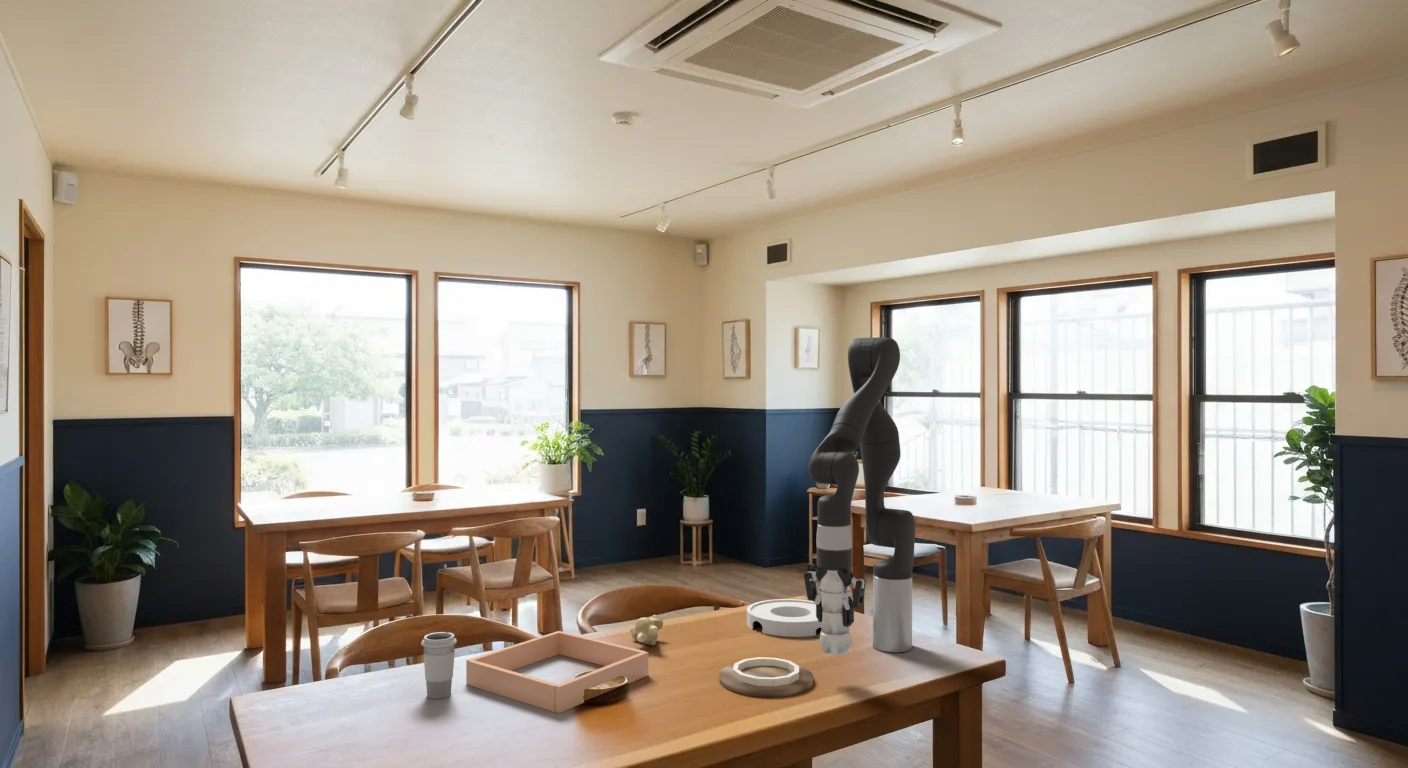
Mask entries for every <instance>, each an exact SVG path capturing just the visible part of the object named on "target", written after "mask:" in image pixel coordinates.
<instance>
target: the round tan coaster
mask: <svg viewBox="0 0 1408 768" xmlns="http://www.w3.org/2000/svg"><path fill="white" fill-rule="evenodd" d="M735 663H736V662H735ZM735 663H731V664H728V665H726V666H725V667H723V668H722V669H720V671H719V678H718V679H719V683H720V685H721V686H722V687H724V688H725V689H727V690H729V691H731V692H734V693H735V694H740V695H745V696H750V697H757V696H758V698H779V697H780V698H781V697H782V698H783V697H789V696H795V695H799V694H802V693H804V692H806V691H808V690H810V689H811V688H812V686H813V684H814V674H813V673H812V672H811V671H810V670H809V669H808V668H806V667H804V666H802V665H799V664H797V665H798V666H799V679H798V680H796V681H794V682H793V683H791V684H786V685H780V686H755V685H751V684H747V683H743V682H740V681H739V680H737V679H736V678H734V677H733V667H734V664H735ZM740 671H741V672H743V673H744V674H747V675H752V676H756V677H779V676H786V675H788V674H790V673H792V672H791V671H790V670H788V669H785V668H781V667H776V666H753V667H747V668H744V669H742V670H740Z"/></svg>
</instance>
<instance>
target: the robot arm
mask: <svg viewBox="0 0 1408 768" xmlns="http://www.w3.org/2000/svg"><path fill="white" fill-rule="evenodd" d="M899 346H900V345H899V344H898V342H897V340H895V339H894V338H891V337H882V336H881V337H857V338H854V339H852V340H851V341H850V343H849V345H848V349H847V364H848V369H849V370H848V371H849V376H850V380H851V385H852V390H853V394H852V395H851V396H850V397H849V398H848V399H847V400H845V402H844V403H843V404H842V405H841V407H840V409H839V410H838V411H837V413H836V415H835V418H834V421H833V423H832V425H831V429H830V431H829V433H828V434H827V435H826V436H825V437H824V439H823V440H822V441H821V442H820V443H819V445H818V446H817V447H816V449H815V450H814V451H813V453H812V455H811V457H810V458H809V462H808V473H809V474H808V475H809V476H810V479H811V480H812V481H813V482H815V483H817V484H820V485H821V484H822V485H835V486H837V488H836V491H835V493H833V494H827V495H822V496H820V497H819V499H818V501H817V512H816V513H817V527H816V539H815V542H816V567H817V569H816V571H813V570H809V571H807V572H805V573H803V578H804V585H805V592H806V597H807V600H808V601H813V602H815V604H816V617H817V619H818V622H822V603H821V596H820V590H819V588H818V589H817V583H816V581H817V580H818V583H820V580H821V579H822V577H823V576H824V575H825V574H826V573H827V570H831V571H837V573H838V575H839V577H840V578H841V580H842V582H843V584H844V586H845V587H847V586H848V585H849V586H850V587H851V585H853V586H852V587H853V588H854V592H852V590H851V588H850V591H849V593H848V594H845V593H844V592H843V591H842V597H841V598H842V599H843V604H844V607H845V609H844V626H845V627H849V628H850V627H851V626H852V625H853V624H854V623H855V609H857V608H859V607H861V606H863V603H864V598H865V591H866V584H867V580H866V578H863V577H862V578H858V577H856V576H854V574H853V571H852V569H853V533H852V525H851V524H852V523H851V521H852V520H851V519H852V517H851V515H852V511H851V507H852V501H853V498H854V497H853V496H854V491H855V487H856V484H857V481H858V477H859V474H860V473H859V472H860V466H859V461H858V459H857V457H856V456H855V455H854V454H853V453H851V452H854V451H856V450H858V449H860V456H861V462H862V464H861V465H862V472H863V482H864V495H865V496H864V497H865V498H864V499H865V505H864V506H865V528H866V529H865V531H866V534H867V535H866V536H867V539H868V541H869V543H870V544H872V545H873V546H878V547H884V548H885V547H886V548H892V549H894V551H893V555H892V556H891V557H889V558H887V559H881V560H878V561H876V562H874V563H873V568H872V571H873V572H872V573H873V574H872V587H873V588H872V595H873V596H872V647H873V648H875V649H876V650H879V651H882V652H886V653H905V652H909V651H911V650H912V649H913V569H914V562H915V543H916V540H915V539H916V520H915V517H914V514H913V513H912V512H911V511H909V510H906V509H897V508H888V507H887V508H886V506H885V490H886V488H887V485H888V483H889V481H890V479H891V477H892V476H893V474H894V472H895V471H896V468H897V467H898V465H899V463H900V460H901V443H900V435H899V430H898V427H897V424H896V422H895V421H894V420H893V418H892V417H891V415H890V413H889V412H888V411H887V410H886V409H885V407H884V406H883V405H882V403H881V399H882V397H883V396H884V395H885V393H886V391H887V389H888V387H889V386H890V384H891V382H892V380H893V379H894V377H895V376H896V374H897V372H898V368H899V366H900V361H901V350H900V347H899ZM823 578H824V577H823ZM836 580H837V581H838V579H836ZM838 583H839V581H838ZM848 597H849V599H848Z"/></svg>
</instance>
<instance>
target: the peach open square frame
mask: <svg viewBox="0 0 1408 768" xmlns="http://www.w3.org/2000/svg"><path fill="white" fill-rule="evenodd" d="M557 655H561V656H565V657H568V658H572V659H576V660H581V661H584V662H587V663H592V664H596V665H600V666H603V667H600V668H598V669H595V670H592V671H590V672H587V673H585V674H582V675H580V676H577V677H574V678H571V679H569V680H567V681H564V682H561V683H559V684H558V683H555V682H551V681H548V680H545V679H544V680H543V679H540V678H538V677H534V676H531V675H526V674H524V673H519V672H517V671H514V670H518V669H520V668H523V667H526V666H528V665H531V664H534V663H537V662H540V661H543V660H546V659H548V658H552V657H555V656H557ZM465 666H466V667H465V668H466V671H465V672H466V679H465V681H466V683H465V684H466V685H469V686H471V687H474V688H477V689H479V690H480V689H481V690H483V691H486V692H489V693H493V694H496V695H499V696H502V697H504V698H509V699H512V700H515V701H518V702H522V703H524V704H528V705H530V706H534V707H537V708H540V709H544V710H547V711H550V712H553V713H558V714H560V713H563V712H565V711H567V710H569V709H572V708H574V707H578V706H579V705H582V704H584V703H585V702H584V699H583V698H584V697H583V696H584V690H585V689H587V688H591V687H596V686H598V685H600V684H602V683H605V682H607V681H609V680H612V679H615V678H616V677H619V676H624V677H626V678H627V680H628V683H629V684H631V683H634V682H636V681H639V680H641V679H643V678H645V677H647V676H649V652H648V651H645V650H641V649H637V648H633V647H629V646H625V645H620V644H617V643H611V642H608V641H603V640H601V639H600V640H599V639H595V638H591V637H587V636H582V635H579V634H575V633H569V632H567V631H561V630H557V631H554V632H551V633H548V634H544V635H542V636H538V637H535V638H532V639H529V640H526V641H522V642H519V643H516V644H512V645H510V646H506V647H503V648H501V649H497V650H494V651H491V652H488V653H486V654H481V655H477V656H476V657H472V658H469V659H466V665H465Z"/></svg>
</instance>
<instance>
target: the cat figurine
mask: <svg viewBox="0 0 1408 768" xmlns="http://www.w3.org/2000/svg"><path fill="white" fill-rule="evenodd" d="M663 626H664V621H663V620H662V618H661V617H659V616H658V615H657V614H653V615H652V616H650V617H645V616H644V617H639V618H638V619H637V621H636V622H635V624H634V626H633V627H632V628H631V629H630V633H631V637H632V639H633V640H634V641H635V642H639V643H644V644H645V645H649V646H655V645H656V643H657V641H658V638H659V634H658V633H659V630H660V629H662V628H663Z"/></svg>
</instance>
